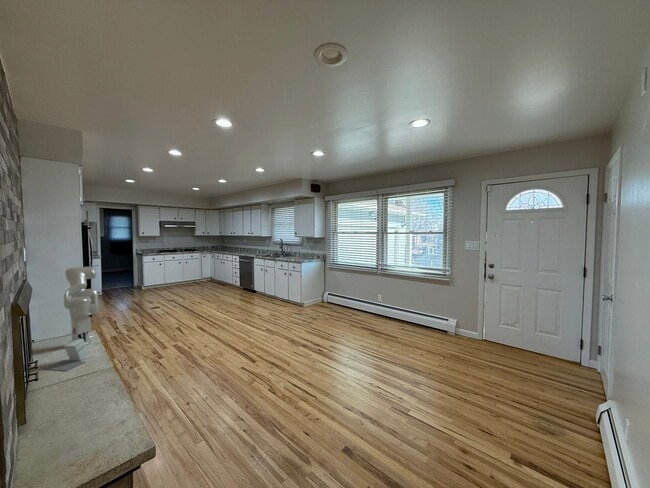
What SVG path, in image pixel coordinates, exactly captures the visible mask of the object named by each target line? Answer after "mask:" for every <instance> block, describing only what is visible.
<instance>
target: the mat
mask: <svg viewBox="0 0 650 488" xmlns="http://www.w3.org/2000/svg"><path fill="white" fill-rule="evenodd" d="M86 363H87V362H86V361H82V360H81V361H70V359H69V360H67V359H63V360H60V361H58V362H56V363H53V364H50V365H47V366H46V367H45V366H44V367H43V368H42V369H43V370H48V371H49V370H50V371H59V372H68V371H70V370H72V369H75V368H78V367H80V366H82V365H83V364H86Z"/></svg>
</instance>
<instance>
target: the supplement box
mask: <svg viewBox="0 0 650 488" xmlns="http://www.w3.org/2000/svg"><path fill="white" fill-rule="evenodd" d="M63 347H64V349H65V351H66V354H67V356H68V358H69V361H81V362H82V360H83V359H84V358H85V357H86V356H87V355H88V354H89V353H90V351H89V349H88V347H87V345H86V344H85V341H84V339H72V338H71V340H70V341H69V342H68V343H67V344H65V345H64V346H63Z"/></svg>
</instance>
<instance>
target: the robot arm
mask: <svg viewBox="0 0 650 488" xmlns="http://www.w3.org/2000/svg"><path fill="white" fill-rule="evenodd" d="M64 272H65V273H64V274H65V277H66V280H67V282H68V283H69V285H70V287H69V288H67V290H66V291H65V292H64V295H63V306H64V308H65V309H66V310H68V311H69V315H70V322H71V340H72V339H84V341H85V344H86V346H87V345H89V344H90V343H92V339H93V338H95V334H93V335H89V333H91V331H92V319H91V317H90V315H95V314H97V313H99V310H100V305H99V302H100V301H99V294H98V290H97V289H96V288H87V285H88V283H87V280H93V279H95V278H96V277H97V270H96V268H95V267H94V266H81V267H80V266H79V267H71V268H70V267H69V268H67V269H66V270H65V271H64Z"/></svg>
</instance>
